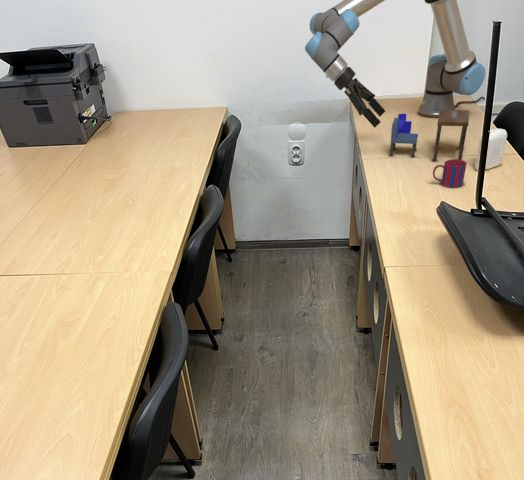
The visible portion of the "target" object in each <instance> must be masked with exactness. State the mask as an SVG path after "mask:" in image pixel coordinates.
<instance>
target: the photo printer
mask: <svg viewBox="0 0 524 480" xmlns="http://www.w3.org/2000/svg"><path fill="white" fill-rule="evenodd" d="M489 131H490V137H489V144H488V152H487V162H486V170H485V171H487V170H489V169H493V168H495V167H498V166H500V165H501V164H502V160H503V156H504V151H505V147H506V143H507V138H508V132H507V131H506V129H504V128H494V129H491V130H489ZM481 140H482V136H481V137H480V139H479V144H478V148H477V154H476V159H475V164H474V169H475V170H477V171H479V170H478V165H479V157H480V149H481Z"/></svg>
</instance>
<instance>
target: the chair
mask: <svg viewBox="0 0 524 480" xmlns="http://www.w3.org/2000/svg"><path fill="white" fill-rule="evenodd" d="M398 125H399V118H398V117H394V119H393V121H392V123H391V134H390V148H389V157H393V156H394V151H395V150H396V144H402V145H403V144H406V145H412V147H411V158H415V153H416V151H417V144H418V138H419V133H411V132H410V133H398Z"/></svg>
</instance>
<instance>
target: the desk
mask: <svg viewBox="0 0 524 480" xmlns="http://www.w3.org/2000/svg"><path fill="white" fill-rule="evenodd" d="M469 123H470V109H469V110H468V109H455V110H440V113H439V117H438V118H437V125H436V126H437V130H436V135H435V143H434V151H433V157H432V162H437V161H438V153H439V147H440V142H441V141H440V139H441V134H442V127H461V131H460V139H459V144H458V155H457V159H458V160H462V159H463V154H464V148H465V142H466V137H467V132H468V131H467V130H468V127H469Z"/></svg>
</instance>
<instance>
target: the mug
mask: <svg viewBox="0 0 524 480" xmlns="http://www.w3.org/2000/svg"><path fill="white" fill-rule="evenodd" d="M438 168H442V175H441V178H438V177H436V174H435V173H436V170H437V169H438ZM466 169H467V162H466V161H465V160H458V158H457V159H456V158H453V159H447V160H445V161H444V164H443V165H442V164H438V165H437V164H436V165H435V166H434V168H433V170H432V177H433V178H434V179H435V180H436V181H437V182H441V185H442V186H444V187H446V188H460V187H462V186H463V185H464V182H465V181H464V179H465V174H466Z"/></svg>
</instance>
